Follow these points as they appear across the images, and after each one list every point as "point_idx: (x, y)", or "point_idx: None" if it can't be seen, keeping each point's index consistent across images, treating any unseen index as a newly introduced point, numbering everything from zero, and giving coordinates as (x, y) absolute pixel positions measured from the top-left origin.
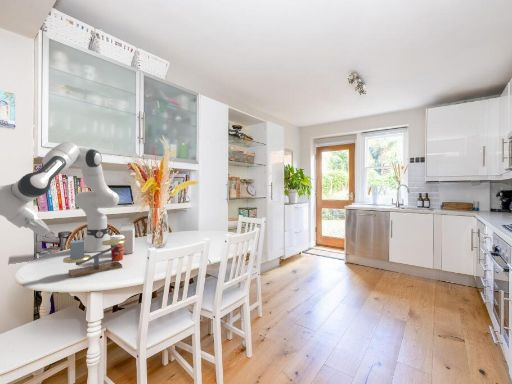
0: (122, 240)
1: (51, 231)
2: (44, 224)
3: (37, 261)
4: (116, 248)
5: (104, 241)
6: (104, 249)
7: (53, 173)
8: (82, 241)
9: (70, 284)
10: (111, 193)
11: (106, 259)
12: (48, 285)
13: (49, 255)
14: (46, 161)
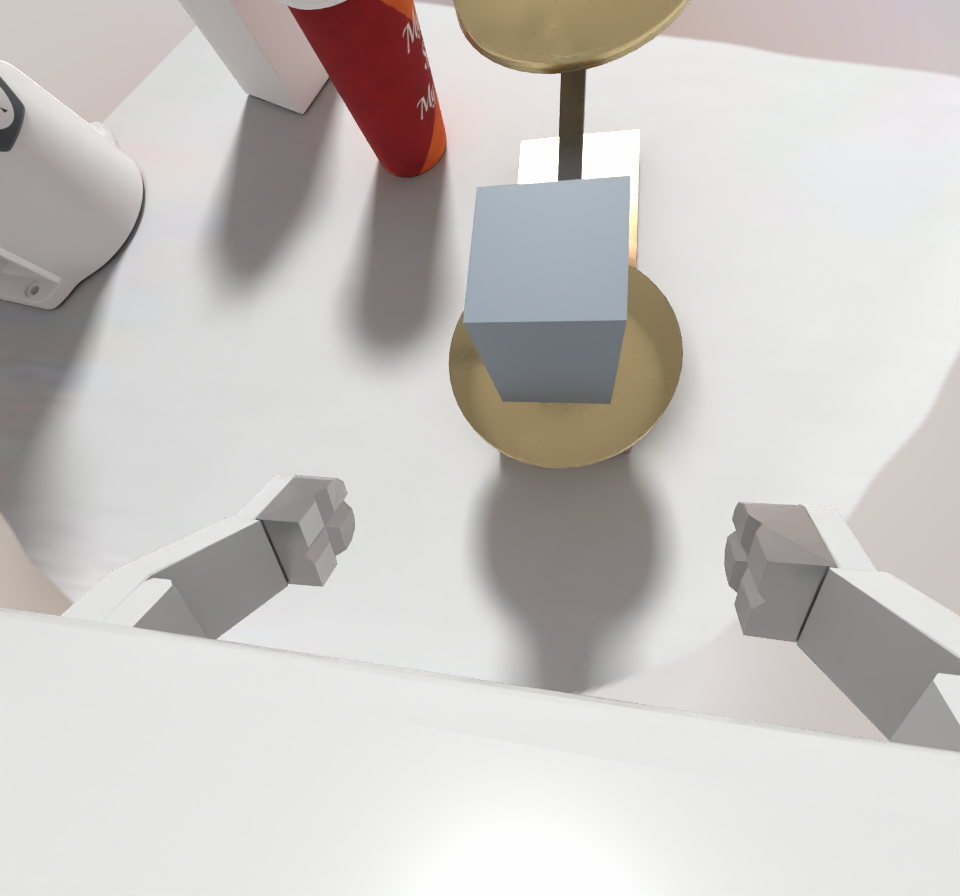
0: None
1: (257, 524)
2: (231, 855)
3: (60, 563)
4: (416, 62)
5: (508, 30)
6: (135, 178)
7: None
8: (598, 192)
9: (800, 480)
10: None
11: (356, 202)
12: (711, 604)
13: None
14: None
